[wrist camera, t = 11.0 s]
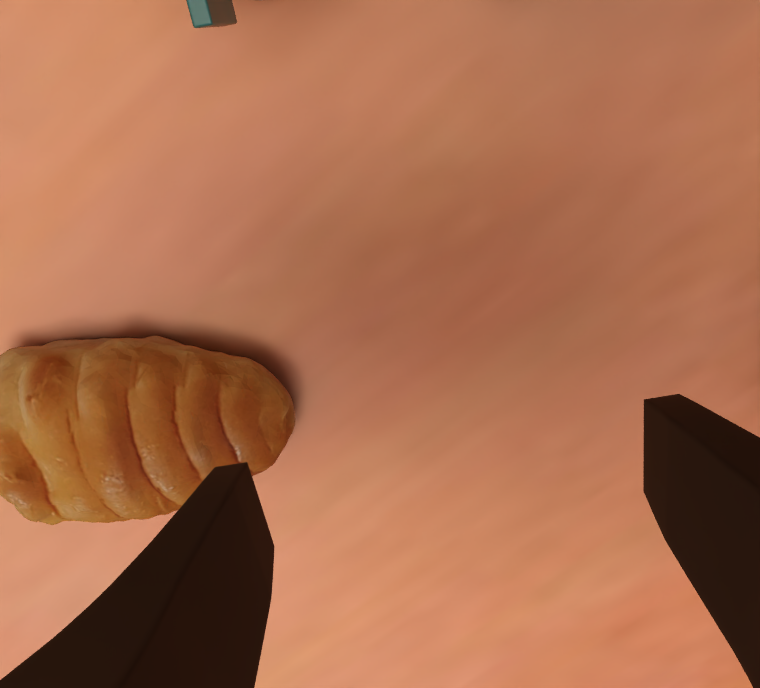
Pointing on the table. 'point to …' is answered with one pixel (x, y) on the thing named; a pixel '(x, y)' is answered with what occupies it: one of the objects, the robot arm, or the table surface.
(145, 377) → the pastry
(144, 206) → the table surface
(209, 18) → the marker
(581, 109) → the table surface
